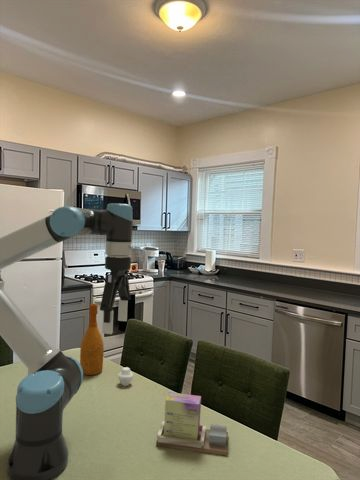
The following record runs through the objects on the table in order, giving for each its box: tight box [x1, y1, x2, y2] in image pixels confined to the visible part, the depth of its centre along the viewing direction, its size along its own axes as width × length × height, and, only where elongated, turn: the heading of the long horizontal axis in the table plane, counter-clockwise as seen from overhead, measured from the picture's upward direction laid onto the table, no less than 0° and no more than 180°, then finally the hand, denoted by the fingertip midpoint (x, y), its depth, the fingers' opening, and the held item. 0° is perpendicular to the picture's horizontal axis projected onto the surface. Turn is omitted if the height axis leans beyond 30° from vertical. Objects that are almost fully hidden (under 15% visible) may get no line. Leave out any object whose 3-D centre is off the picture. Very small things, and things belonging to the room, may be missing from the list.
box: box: [164, 391, 202, 440], centre depth 111 cm, size 10×6×12 cm, turn 81°
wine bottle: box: [79, 303, 105, 376], centre depth 156 cm, size 10×10×30 cm
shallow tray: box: [155, 419, 229, 456], centre depth 110 cm, size 10×21×4 cm, turn 81°
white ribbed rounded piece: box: [117, 366, 134, 387], centre depth 146 cm, size 6×6×7 cm
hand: (115, 326), depth 107 cm, fingers open, 13 cm apart
